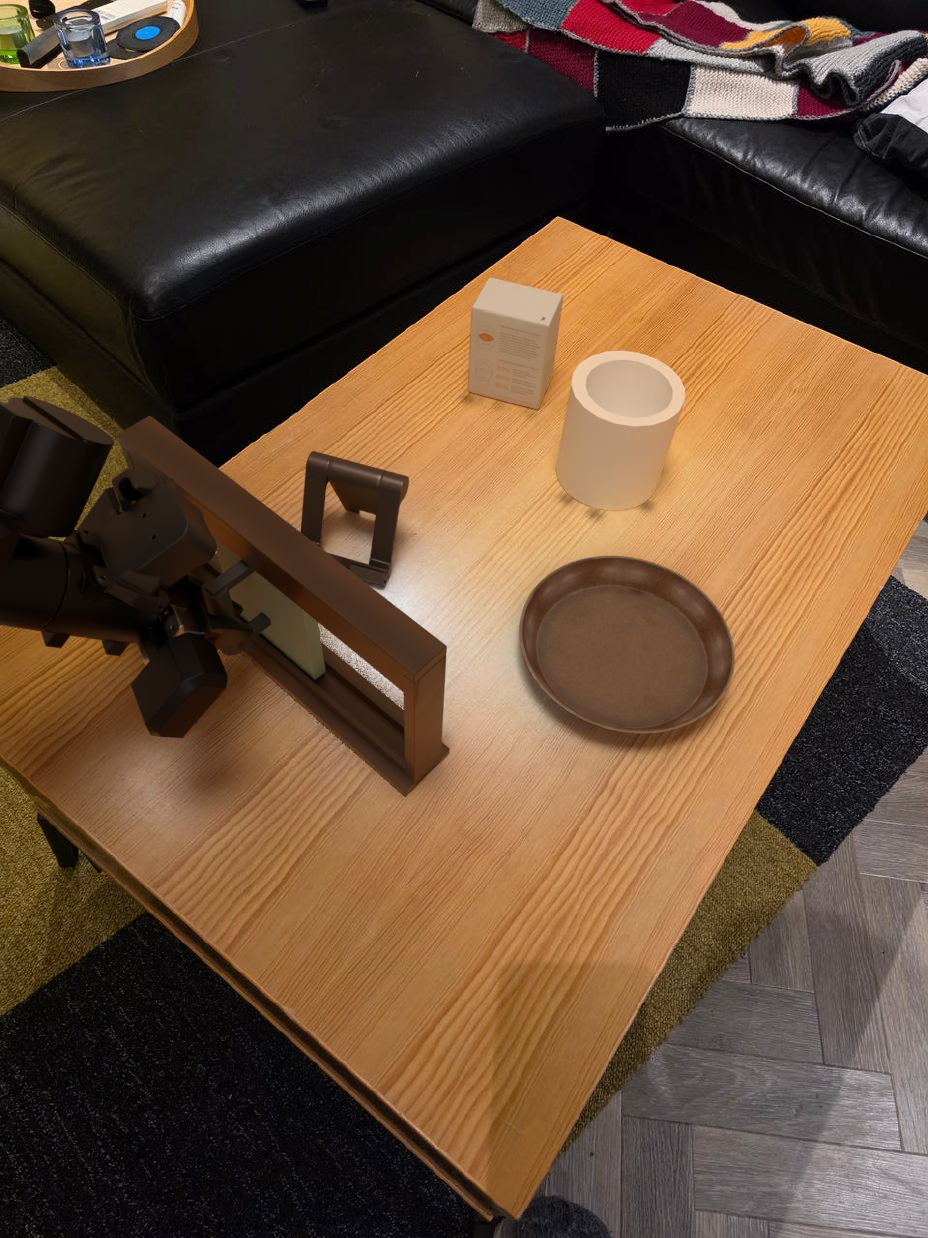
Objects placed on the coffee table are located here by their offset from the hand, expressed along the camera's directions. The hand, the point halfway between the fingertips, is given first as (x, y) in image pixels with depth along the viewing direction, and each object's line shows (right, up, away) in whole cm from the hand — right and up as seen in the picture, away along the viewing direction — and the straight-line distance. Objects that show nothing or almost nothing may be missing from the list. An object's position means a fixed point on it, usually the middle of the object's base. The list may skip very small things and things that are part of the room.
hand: (244, 623), depth 66 cm
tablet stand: (+6, +7, +14) cm, 17 cm away
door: (0, -3, +5) cm, 6 cm away
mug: (+31, +16, +22) cm, 41 cm away
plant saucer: (+30, -3, +9) cm, 31 cm away
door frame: (+3, -3, +7) cm, 8 cm away
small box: (+21, +25, +28) cm, 43 cm away
